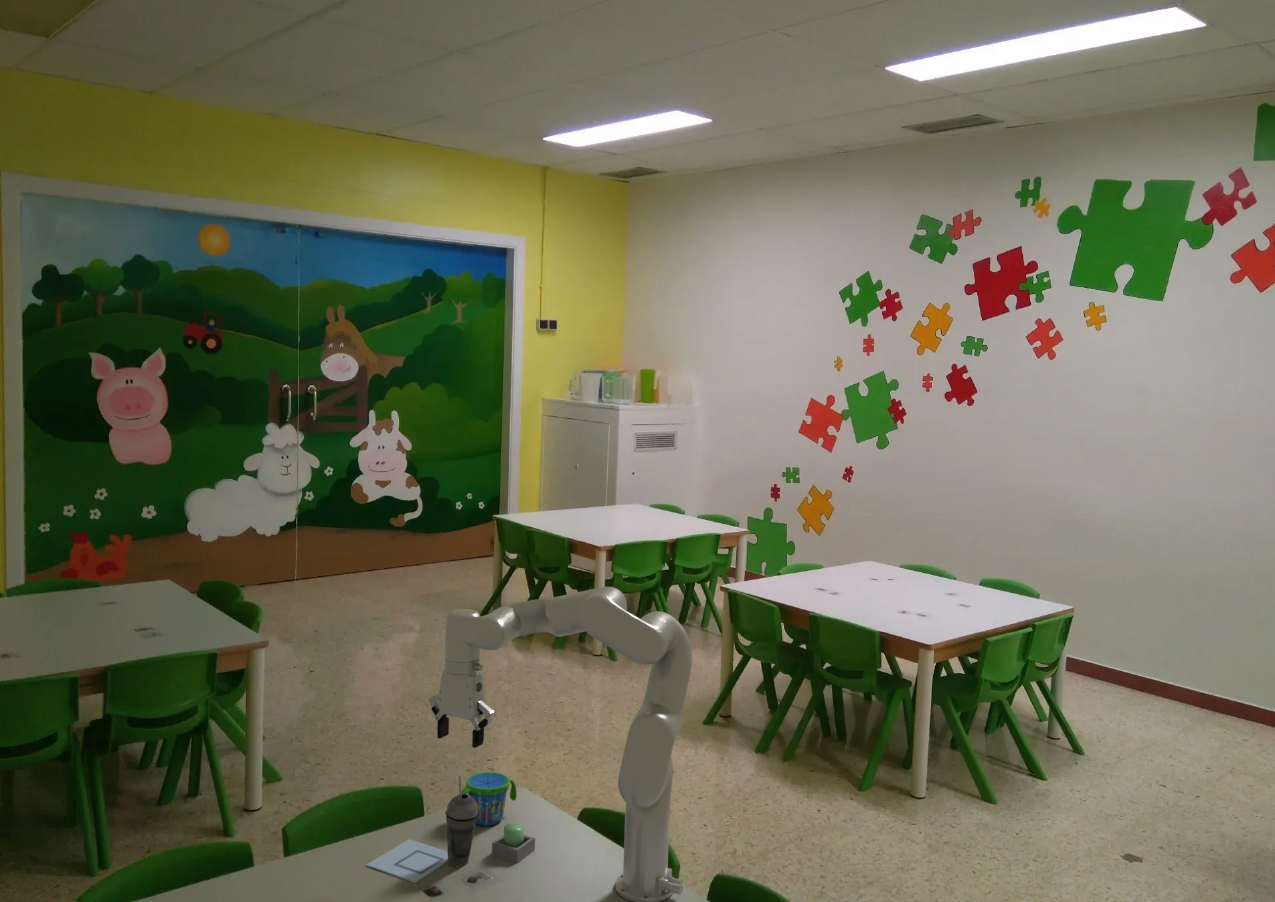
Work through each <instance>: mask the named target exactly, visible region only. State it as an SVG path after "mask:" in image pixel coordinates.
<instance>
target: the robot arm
mask: <svg viewBox="0 0 1275 902" xmlns="http://www.w3.org/2000/svg"><path fill="white" fill-rule="evenodd" d="M627 603H628V602H627V599H626V597H625V595H624V593H623V591H621V590H619V589H618V588H616V587H613V586H601V587H597V588H592V589H588V590H583V591H579V592H573V593H569V594H564V595H560V596H554V597H547V598H538V599H532V600H526V601H521V602H517V603H516V602H515V603H512V604H508V605H504V606H500V607H498V608H496V609H494V610H492V611H491V612H490V613H488V614H486V615H481V614H480V613H479V612H478V611H477V610H474V609H470V608H457V609H453V610H450V611H449V612H448V613H447V614H446V616H445V617H446V618H445V639H444V640H445V643H444V644H445V645H444V646H445V647H444V648H445V649H444V650H445V651H444V652H445V653H444V669H443V671H442V673H441V678H440V683H439V691H438V694H435V695H433V696H431V697H428V698H429V699H428V701H429V705H430V707H431V711H432V713H433V714H434V720H436V721H437V730H436V732H437V736H436V737H437V739H443V738H444V737H446V736H448V735H450V733H449V732H450V718H449V716H450V717H453V718H458V719H462V720H467V721H470V723H471V724H472V726H473V728H474V729H473V730H472V737H471V741H472V742H471V747H472V748H474V749H477V748H478V747H480V746H482V745H483V744H484V741H485V728H486V727H487V725H488V726H489V724H490V723H491V722H492V719H493V718H494V715H495V711H494V710H493V709H492V708H491V707H490V706H489V705H487V704H486V703H487V702H486V686H485V680H484V675H483V674H484V673H483V672H481V671H482V670H483V668H484V667H483V664H480V662H481V661H480V656H481V655H480V651H481V650H483V651H484V650H486V651H491V652H492V651H497V650H499V649H501V648H502V647H504V646H505V645H507V644H508V643H509V642H511V640H513V639H515V638H518V637H522V636H527V635H532V634H537V633H550V634H551V635H553V636H555V637H558V638H560V637H561V638H562V637H565V636H571V635H574V634H580V633H584V632H586V633H587V634H588V635H590V636H591V637H592V638H594V639H595V640H597V641H598V642H600V643H602V644H603V645H605V646H606V647H609V648H610V649H611V650H613V651H615V652H617V653H618V654H621V656H623V657H625V658H627V659H629V660H630V661H632V662H634V663H637V664H640V665H643V666H644V665H645V666H647V665H648V666H649V665H651V667H650V671H649V675H648V679H647V685H646V689H645V694H644V698H643V701H642V704H641V707H640V708H639V710H638V711H637V713H636V715H635V716H634V718H633V719H632V721H631V724H630V726H629V729H628V732H627V736H626V741H625V745H624V749H623V750H624V751H623V755H622V760H621V763H620V768H619V773H618V777H617V787H618V791H619V794H620V796H621V798H622V800H623V801H624V802H625V815H624V839H623V840H624V841H623V864H622V865H623V866H622V867H623V868H622V870H623V871H622V873H621V874H620V875H619V876H617V878H616V879H615V890H616V892H617V894H618V895H620V897H622V898H623V899H625V900H628V901H630V902H662V901H665V900H667V899H668V898H671V896H672V895H673V894H676V895H679V896H681V895H682V894H683V892H684V885H683V883H684V881H683V880H682V879H679V878H675V877H674V875H672V874H673V869H672V868H670V867H668V866H669V865H668V864H669V842H670V841H669V837H670V817H671V798H672V787H673V777H674V763H673V759H672V751H673V749H674V744H675V741H676V740H677V737H678V734H679V733H680V730H681V726H682V718H683V712H684V707H685V703H686V697H687V693H688V687H689V682H690V677H691V673H692V663H693V657H692V655H693V654H692V646H691V645H692V644H691V641H690V638H689V636H688V634H687V631H686V629H685V628H684V626H682V624H681V623H680V622H679V621H678V620H677V619H676V617H674V616H672V615H671V614H669V613H667V612H665V611H658V610H657V611H651V612H649V613H647V614H645V615H643V616H642V617H641V618H639V617H637V616H636V615H635V614H632V613H630V612H629V611H628V604H627ZM483 715H484V717H483Z"/></svg>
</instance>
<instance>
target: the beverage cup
mask: <svg viewBox="0 0 1275 902" xmlns="http://www.w3.org/2000/svg"><path fill="white" fill-rule="evenodd" d="M461 791H462V776H461V775H459V776H458V794H457V795H456V796H453V798H451V800H450V801H449V802H448V804H447V807H446V810H445V819H446V824H447V827H446V829H447V831H446V833H447V852H448V862H447V863H448V864H449V865H450V866H452V867H455V868H456V867H458V868H461V867H464V866H466V865H467V864H468V863H469V859H470V855H471V849H472V846H473V845H472V844H473V838H474V833H475V826H476V824H475V823H476V821H477V816H478V806H477V803H476V801H475V800H474V798H472V797H471V796H470V795H469V794H468V793H467V794H462V792H461Z"/></svg>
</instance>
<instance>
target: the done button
mask: <svg viewBox="0 0 1275 902" xmlns="http://www.w3.org/2000/svg"><path fill="white" fill-rule="evenodd" d="M503 835H504V844H505V845H508V846H512V847H515V848H517V847H519V846H520V845H522V844H523V843H524V835H525V825H523V824H522V823H518V822H511V823H508V824H506V825H504V827H503Z"/></svg>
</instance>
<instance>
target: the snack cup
mask: <svg viewBox="0 0 1275 902" xmlns="http://www.w3.org/2000/svg"><path fill="white" fill-rule="evenodd" d="M465 783H466V784H465V786H464V787H463V788H462V789H461V792H462V794H467V795H470V796H471V797H472V798H474V800H475V801H476V803H477V806H478V816H477V821H476V823H475V825H479V826H484V827H489V826H493V825H496V824H498V823H501V821H502V819H503V815H504V810H505V807H506V801H507V792H508V790H509V788H510V792H509V799H511V801H516V800H517V794H518V793H517V785H516V783H515V781H514V780H513V779H511V777H508V776H507V775H505V774H503V773H499V772H494V771H491V772H490V771H487V772H486V771H485V772H477V773H474V774H472V775H470V776H469V777H467V779H466V781H465ZM510 785H511V787H510Z"/></svg>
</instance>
